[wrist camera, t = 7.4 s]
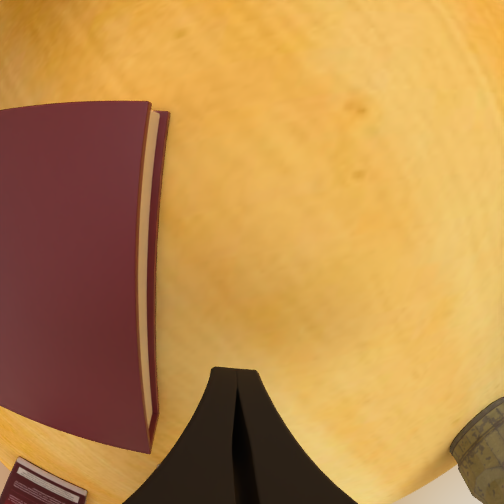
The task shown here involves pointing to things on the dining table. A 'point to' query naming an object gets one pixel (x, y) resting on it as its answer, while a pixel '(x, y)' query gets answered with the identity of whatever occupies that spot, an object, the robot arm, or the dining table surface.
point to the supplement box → (38, 487)
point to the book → (81, 267)
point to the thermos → (483, 454)
